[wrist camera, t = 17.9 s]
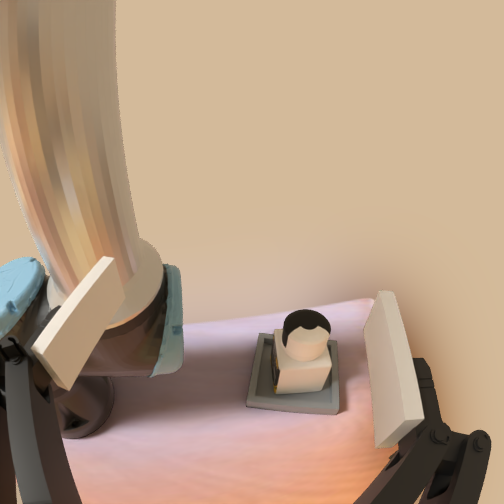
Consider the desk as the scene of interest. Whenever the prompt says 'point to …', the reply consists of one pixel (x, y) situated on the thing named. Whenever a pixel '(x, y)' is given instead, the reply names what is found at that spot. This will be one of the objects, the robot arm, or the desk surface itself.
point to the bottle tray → (305, 402)
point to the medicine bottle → (301, 353)
